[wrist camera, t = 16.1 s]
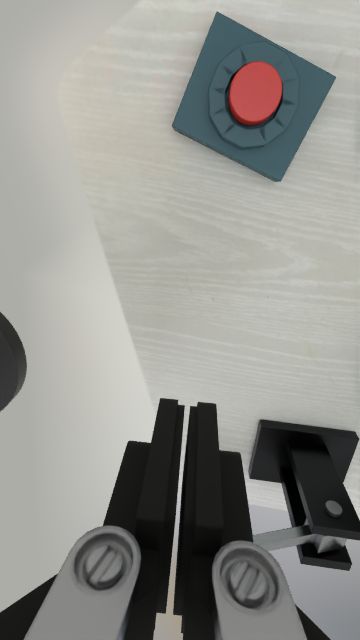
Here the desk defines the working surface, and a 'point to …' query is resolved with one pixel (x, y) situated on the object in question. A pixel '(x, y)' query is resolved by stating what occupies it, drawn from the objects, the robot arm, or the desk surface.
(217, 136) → the button block
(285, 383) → the desk surface
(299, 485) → the bracket
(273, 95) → the button
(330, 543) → the lever
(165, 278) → the desk surface
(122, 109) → the desk surface
